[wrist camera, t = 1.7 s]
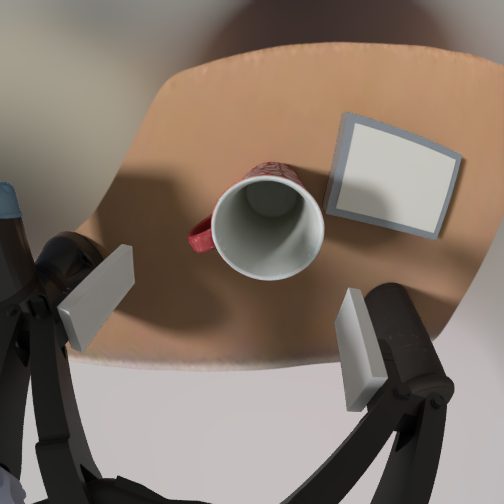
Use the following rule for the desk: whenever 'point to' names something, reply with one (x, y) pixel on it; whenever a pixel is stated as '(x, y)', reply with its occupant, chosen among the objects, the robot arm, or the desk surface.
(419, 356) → the container
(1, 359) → the robot arm
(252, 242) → the mug
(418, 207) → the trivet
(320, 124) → the desk surface
